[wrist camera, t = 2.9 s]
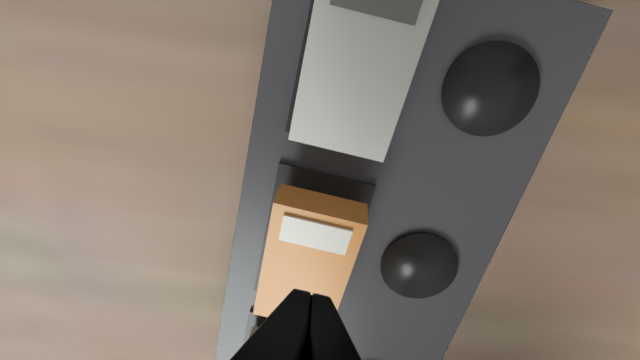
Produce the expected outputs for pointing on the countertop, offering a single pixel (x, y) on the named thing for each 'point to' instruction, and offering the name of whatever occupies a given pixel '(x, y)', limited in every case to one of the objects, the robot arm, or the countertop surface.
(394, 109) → the rocker
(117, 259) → the countertop surface
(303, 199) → the block
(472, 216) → the power strip
